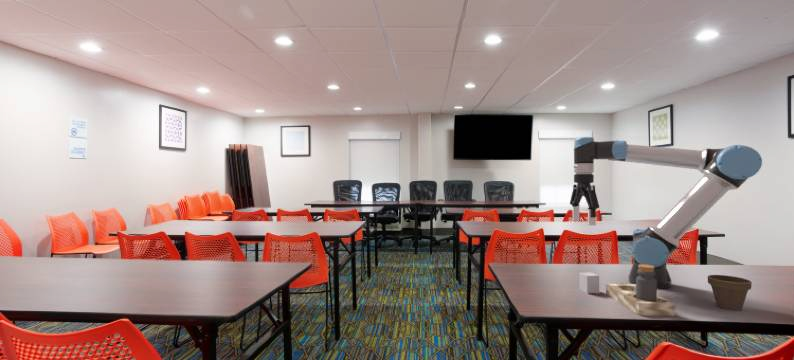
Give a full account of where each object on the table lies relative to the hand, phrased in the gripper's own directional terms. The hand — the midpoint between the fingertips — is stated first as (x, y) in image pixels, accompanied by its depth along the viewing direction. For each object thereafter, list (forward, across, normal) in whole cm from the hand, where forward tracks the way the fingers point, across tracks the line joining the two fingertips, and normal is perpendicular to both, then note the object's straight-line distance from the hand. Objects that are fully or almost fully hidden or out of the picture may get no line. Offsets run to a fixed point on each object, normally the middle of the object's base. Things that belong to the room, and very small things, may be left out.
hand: (583, 223), depth 159 cm
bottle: (+26, +32, +6) cm, 42 cm away
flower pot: (+26, +31, +35) cm, 53 cm away
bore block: (+26, +27, +6) cm, 37 cm away
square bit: (+26, +12, -4) cm, 29 cm away
